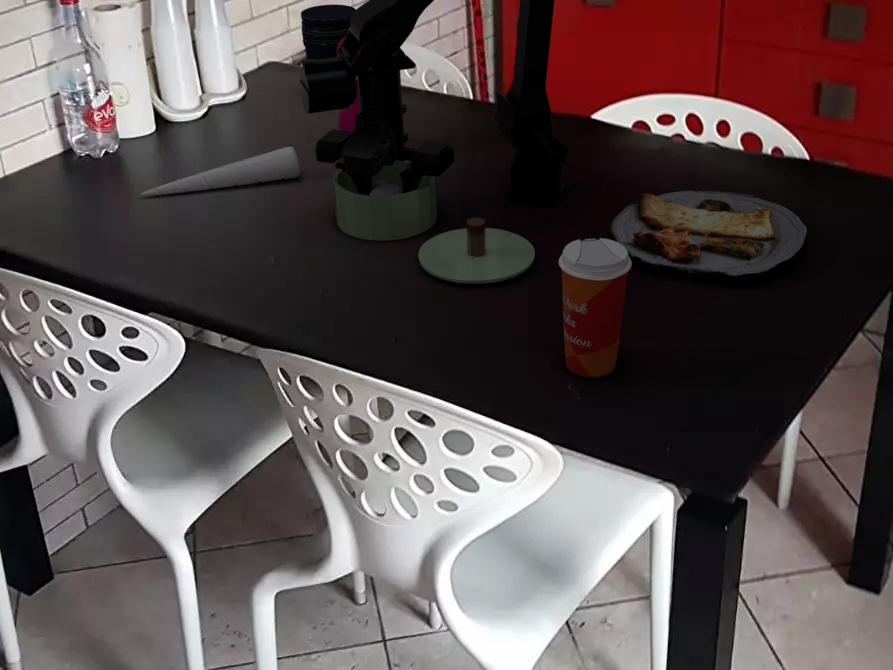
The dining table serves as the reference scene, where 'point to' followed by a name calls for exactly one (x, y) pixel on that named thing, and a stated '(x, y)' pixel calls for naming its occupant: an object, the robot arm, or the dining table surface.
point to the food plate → (709, 232)
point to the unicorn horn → (238, 173)
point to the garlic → (385, 189)
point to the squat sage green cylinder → (385, 206)
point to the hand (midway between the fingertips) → (387, 209)
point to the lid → (476, 254)
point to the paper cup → (593, 304)
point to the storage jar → (325, 29)
